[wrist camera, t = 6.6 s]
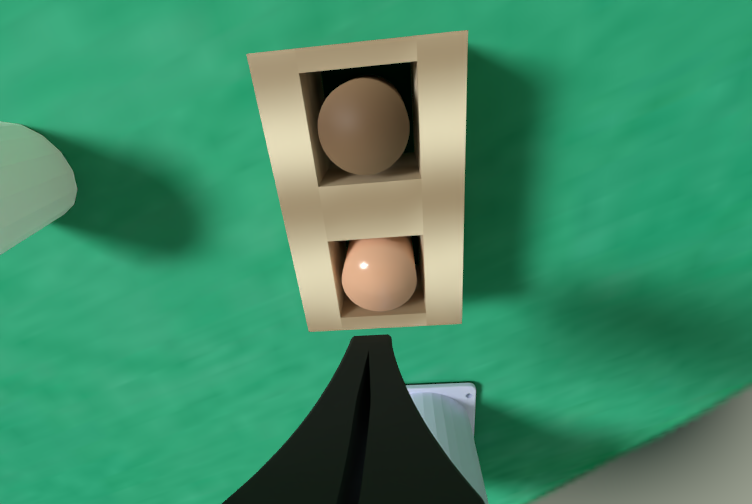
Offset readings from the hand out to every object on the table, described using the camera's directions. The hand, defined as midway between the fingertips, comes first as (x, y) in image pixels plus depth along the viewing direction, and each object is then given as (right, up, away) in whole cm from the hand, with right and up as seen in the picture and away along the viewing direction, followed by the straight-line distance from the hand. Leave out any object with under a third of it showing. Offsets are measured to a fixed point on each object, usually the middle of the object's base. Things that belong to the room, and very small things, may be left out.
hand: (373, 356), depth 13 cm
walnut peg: (0, +11, +5) cm, 12 cm away
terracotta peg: (0, +5, +9) cm, 10 cm away
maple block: (0, +8, +7) cm, 11 cm away
